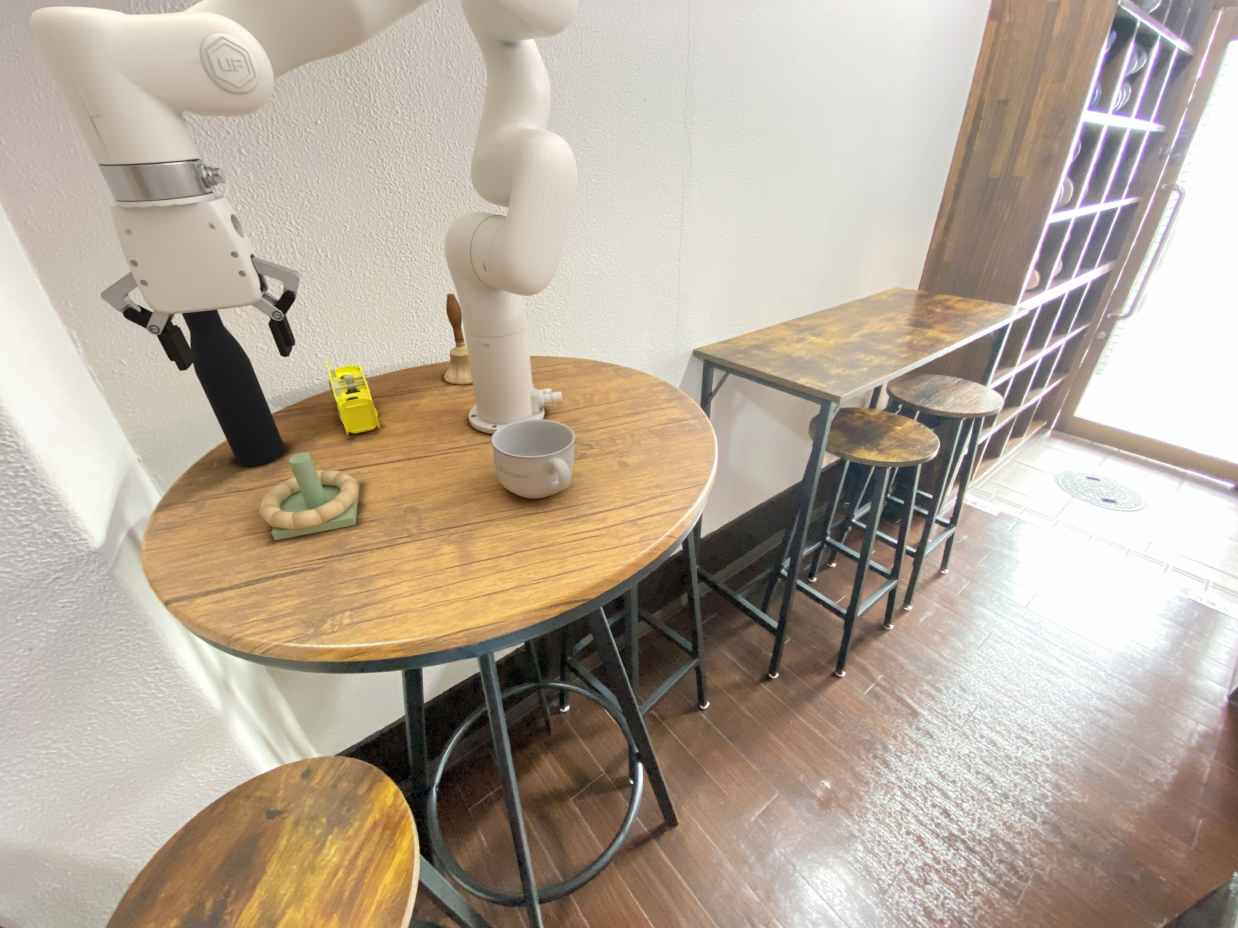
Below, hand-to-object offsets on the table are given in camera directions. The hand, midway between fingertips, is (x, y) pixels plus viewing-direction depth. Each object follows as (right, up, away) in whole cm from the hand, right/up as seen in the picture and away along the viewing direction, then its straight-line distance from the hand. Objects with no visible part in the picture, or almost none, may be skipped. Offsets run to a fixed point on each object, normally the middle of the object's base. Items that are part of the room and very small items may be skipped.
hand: (238, 359), depth 59 cm
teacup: (+31, -15, +14) cm, 38 cm away
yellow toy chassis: (-3, -3, +33) cm, 33 cm away
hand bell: (+12, +6, +47) cm, 48 cm away
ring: (+3, -16, +9) cm, 18 cm away
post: (+3, -18, +10) cm, 21 cm away
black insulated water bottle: (-12, -10, +22) cm, 27 cm away
